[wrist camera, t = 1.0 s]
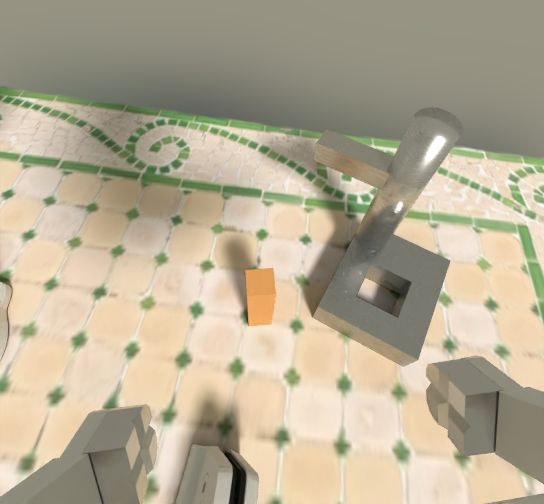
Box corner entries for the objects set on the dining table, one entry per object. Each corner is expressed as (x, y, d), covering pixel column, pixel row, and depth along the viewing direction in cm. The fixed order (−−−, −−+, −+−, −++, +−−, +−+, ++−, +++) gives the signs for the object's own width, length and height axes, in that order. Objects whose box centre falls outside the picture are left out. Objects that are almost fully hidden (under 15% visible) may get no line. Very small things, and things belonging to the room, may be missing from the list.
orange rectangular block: (248, 326, 41) (247, 296, 32) (247, 304, 42) (245, 270, 33) (271, 324, 41) (275, 294, 32) (269, 302, 42) (272, 268, 34)
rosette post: (260, 289, 43) (266, 171, 24) (308, 213, 49) (342, 72, 30) (403, 366, 39) (546, 300, 20) (435, 274, 45) (567, 155, 26)
